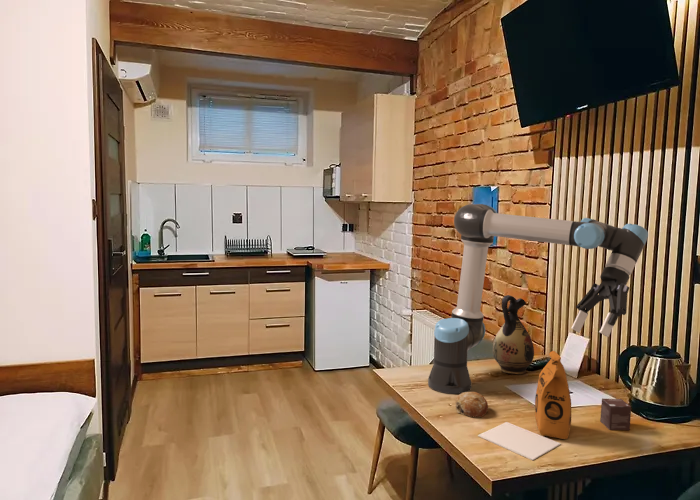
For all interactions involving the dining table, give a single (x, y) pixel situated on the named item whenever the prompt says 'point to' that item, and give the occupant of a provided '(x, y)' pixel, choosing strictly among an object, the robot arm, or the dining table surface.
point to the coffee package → (553, 400)
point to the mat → (519, 440)
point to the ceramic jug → (513, 340)
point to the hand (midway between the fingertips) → (588, 332)
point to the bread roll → (471, 404)
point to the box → (615, 414)
